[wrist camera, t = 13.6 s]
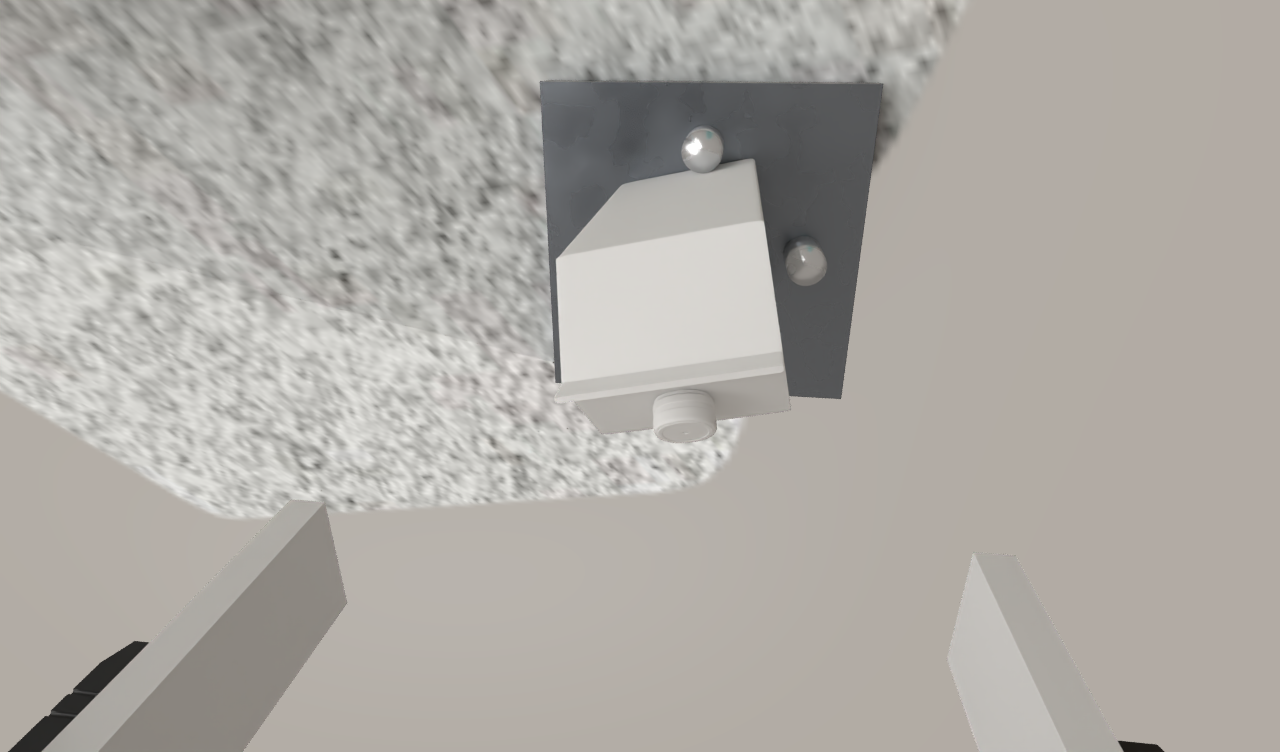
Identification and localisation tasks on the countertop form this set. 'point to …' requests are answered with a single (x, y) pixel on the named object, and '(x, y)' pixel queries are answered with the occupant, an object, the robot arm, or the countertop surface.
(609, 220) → the milk carton
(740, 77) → the countertop surface
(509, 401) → the countertop surface
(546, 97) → the plate
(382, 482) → the countertop surface
